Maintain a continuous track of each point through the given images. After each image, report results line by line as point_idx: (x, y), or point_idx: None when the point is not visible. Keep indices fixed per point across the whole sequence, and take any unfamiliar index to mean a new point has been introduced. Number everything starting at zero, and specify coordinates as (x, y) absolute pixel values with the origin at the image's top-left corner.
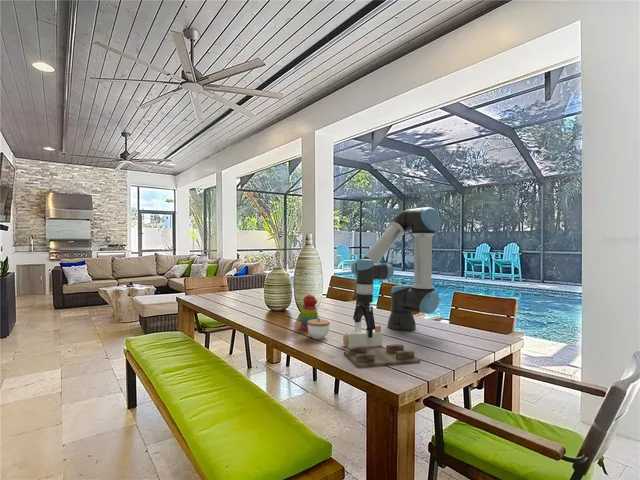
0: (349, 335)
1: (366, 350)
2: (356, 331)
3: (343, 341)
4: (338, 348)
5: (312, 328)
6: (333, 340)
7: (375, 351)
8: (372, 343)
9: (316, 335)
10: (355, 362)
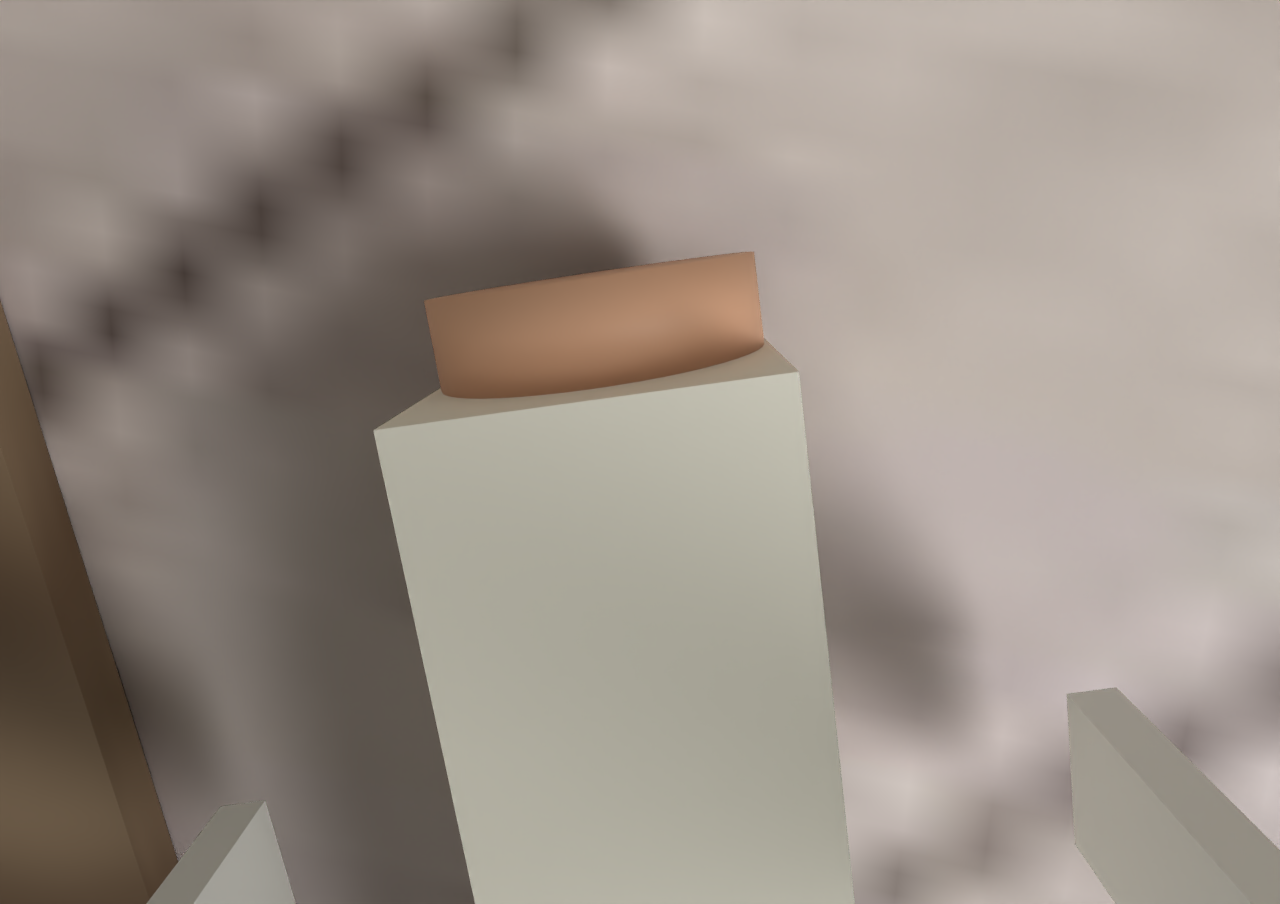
0: (395, 447)
1: (57, 716)
2: (808, 807)
3: (695, 258)
4: (406, 64)
5: None
6: (1192, 28)
7: (6, 885)
8: None
9: None
10: None
